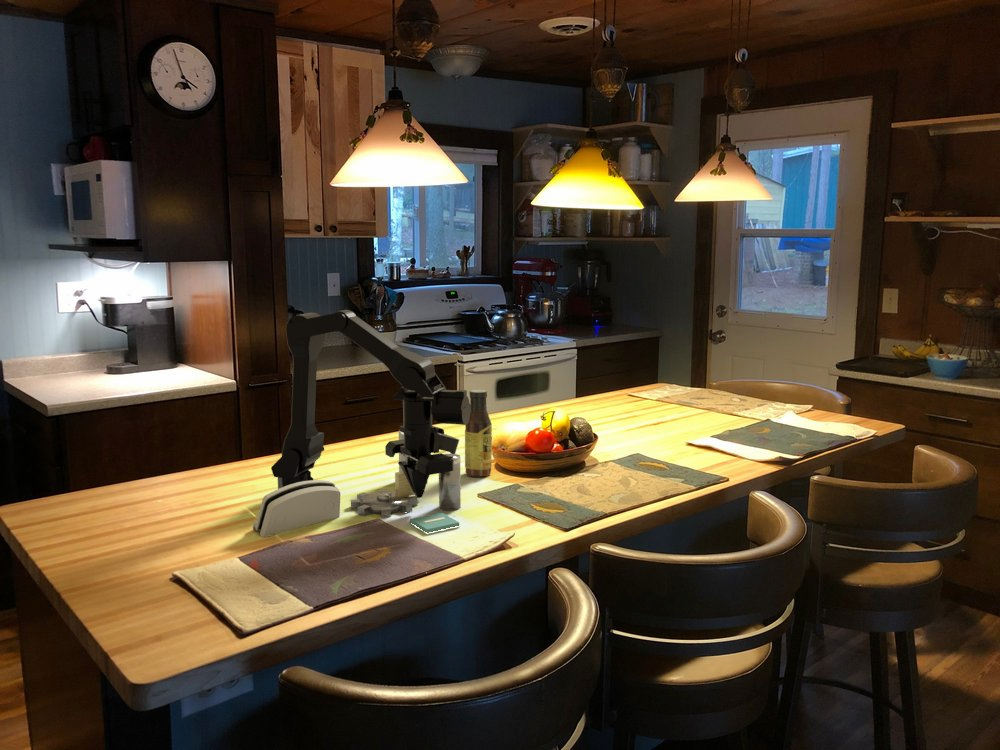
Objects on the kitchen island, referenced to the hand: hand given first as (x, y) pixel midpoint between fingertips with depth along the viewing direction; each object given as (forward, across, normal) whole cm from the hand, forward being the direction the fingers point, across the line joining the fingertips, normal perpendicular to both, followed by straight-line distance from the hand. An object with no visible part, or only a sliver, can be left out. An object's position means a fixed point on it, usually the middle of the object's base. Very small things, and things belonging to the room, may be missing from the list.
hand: (419, 497), depth 170 cm
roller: (+3, -1, -6) cm, 7 cm away
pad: (+3, -9, +2) cm, 10 cm away
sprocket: (+3, +7, +3) cm, 8 cm away
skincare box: (+3, +19, -8) cm, 21 cm away
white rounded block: (+4, +6, +23) cm, 24 cm away
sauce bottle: (+3, +17, -24) cm, 30 cm away
